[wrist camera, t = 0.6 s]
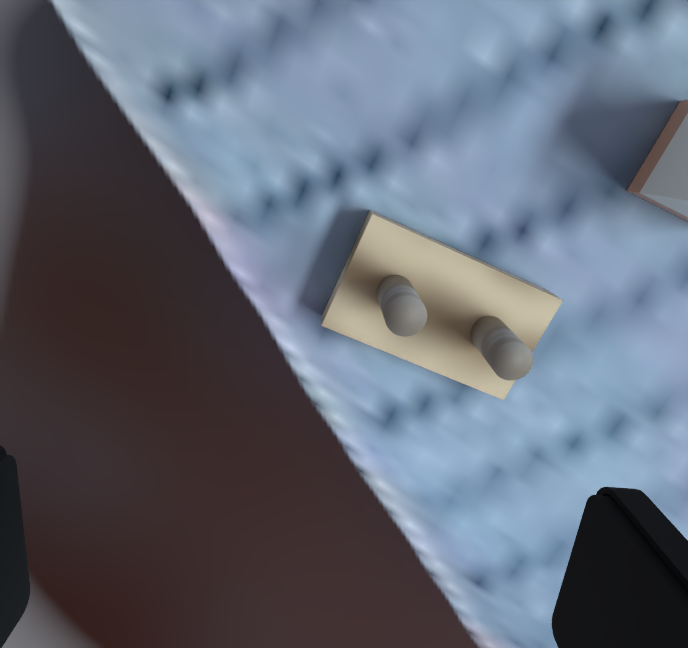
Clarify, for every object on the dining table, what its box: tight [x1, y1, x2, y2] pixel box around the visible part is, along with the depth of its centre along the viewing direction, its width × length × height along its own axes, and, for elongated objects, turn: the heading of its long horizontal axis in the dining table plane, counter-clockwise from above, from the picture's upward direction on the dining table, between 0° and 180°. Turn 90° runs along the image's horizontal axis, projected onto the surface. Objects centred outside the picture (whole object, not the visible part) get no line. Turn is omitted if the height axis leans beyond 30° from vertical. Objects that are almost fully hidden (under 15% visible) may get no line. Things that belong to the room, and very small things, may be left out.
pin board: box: [321, 210, 563, 400], centre depth 34 cm, size 8×14×7 cm, turn 66°
